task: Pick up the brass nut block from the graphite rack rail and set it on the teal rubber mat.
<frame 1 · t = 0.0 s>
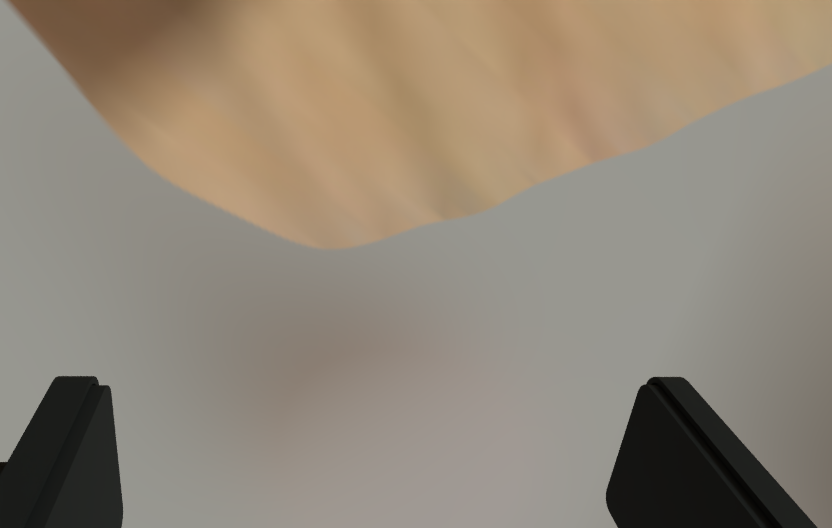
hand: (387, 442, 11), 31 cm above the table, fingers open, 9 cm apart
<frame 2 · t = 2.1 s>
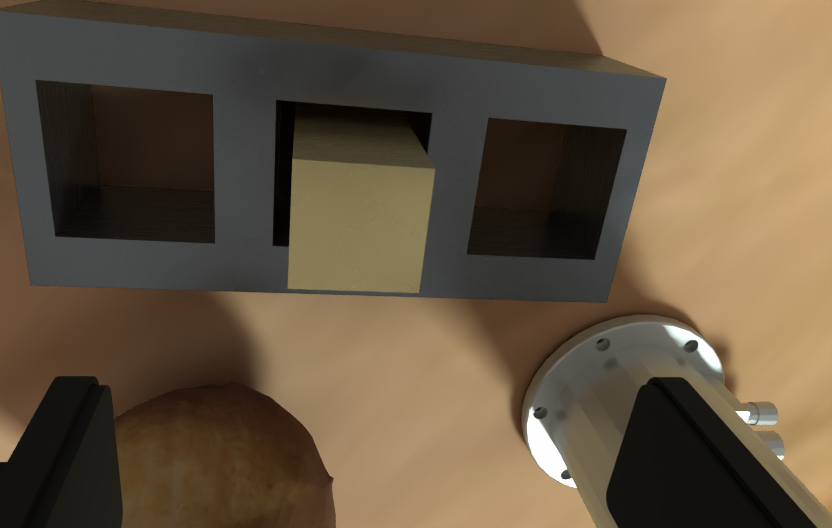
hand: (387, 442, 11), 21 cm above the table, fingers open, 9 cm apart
butternut squash: (216, 440, 37), on the table
brass nut block: (349, 177, 26), in the graphite rack rail
graphite rack rail: (342, 140, 31), on the table
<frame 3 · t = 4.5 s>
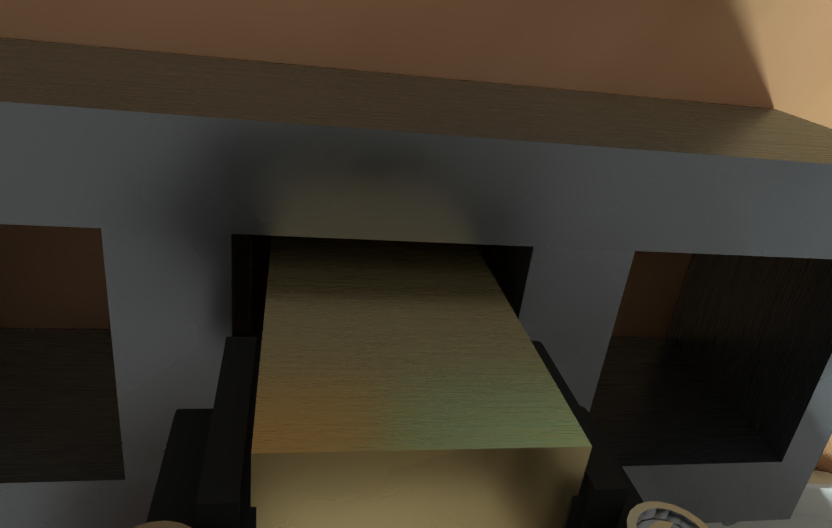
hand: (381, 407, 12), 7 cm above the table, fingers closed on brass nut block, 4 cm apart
brass nut block: (372, 352, 14), in the graphite rack rail, touching gripper
graphite rack rail: (354, 247, 19), on the table
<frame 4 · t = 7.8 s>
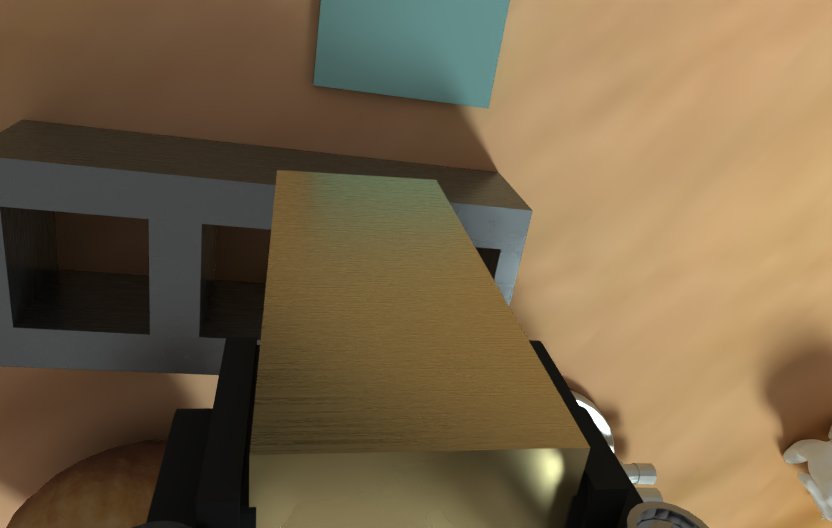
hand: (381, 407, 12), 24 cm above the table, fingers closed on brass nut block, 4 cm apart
butternut squash: (158, 484, 42), on the table
brass nut block: (371, 353, 14), point 22 cm above the table, touching gripper
white animal figurine: (823, 459, 51), on the table
teal rubber mat: (415, 1, 32), on the table
graphite rack rail: (271, 237, 36), on the table
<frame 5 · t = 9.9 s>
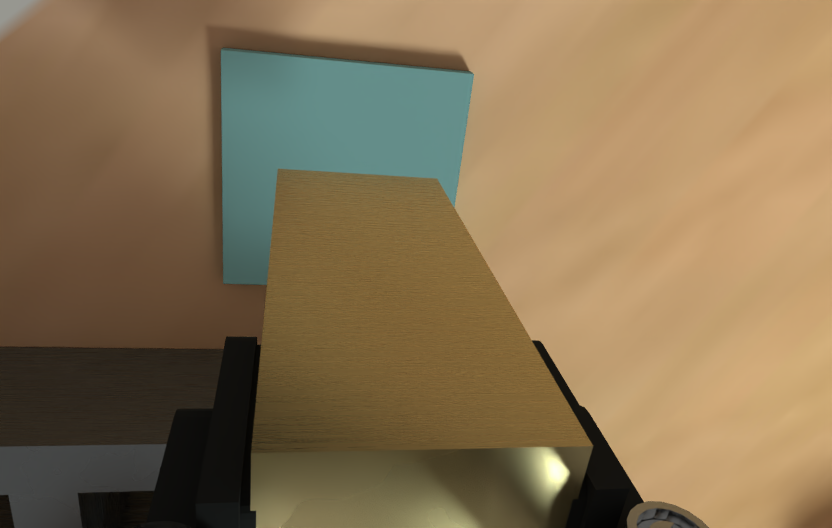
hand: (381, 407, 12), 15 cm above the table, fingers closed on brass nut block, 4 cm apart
brass nut block: (372, 352, 14), point 13 cm above the table, touching gripper
teal rubber mat: (342, 178, 26), on the table
graphite rack rail: (192, 441, 30), on the table
when the fingers open (9 cm above the table, at t = 11.6 s): brass nut block drops 2 cm, resting on teal rubber mat.
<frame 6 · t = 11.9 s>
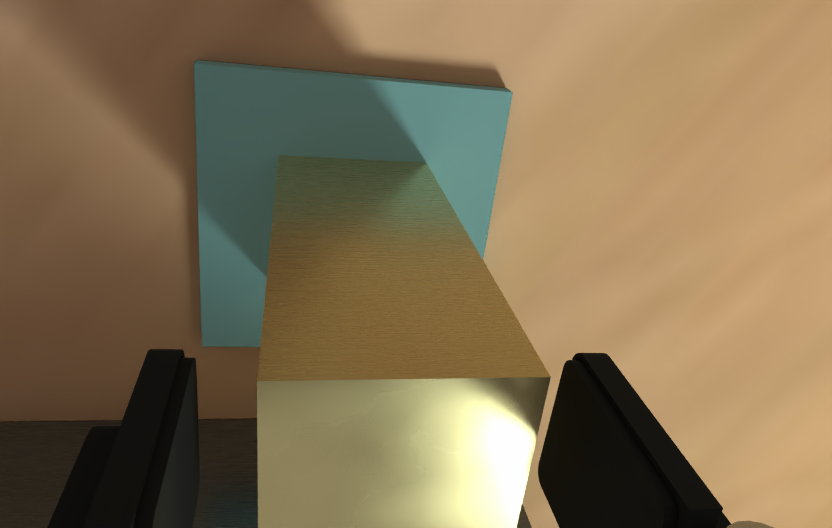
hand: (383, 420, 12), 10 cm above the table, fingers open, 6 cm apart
brass nut block: (366, 317, 15), on the teal rubber mat, point 6 cm above the table
teal rubber mat: (348, 218, 21), on the table
graphite rack rail: (168, 523, 25), on the table
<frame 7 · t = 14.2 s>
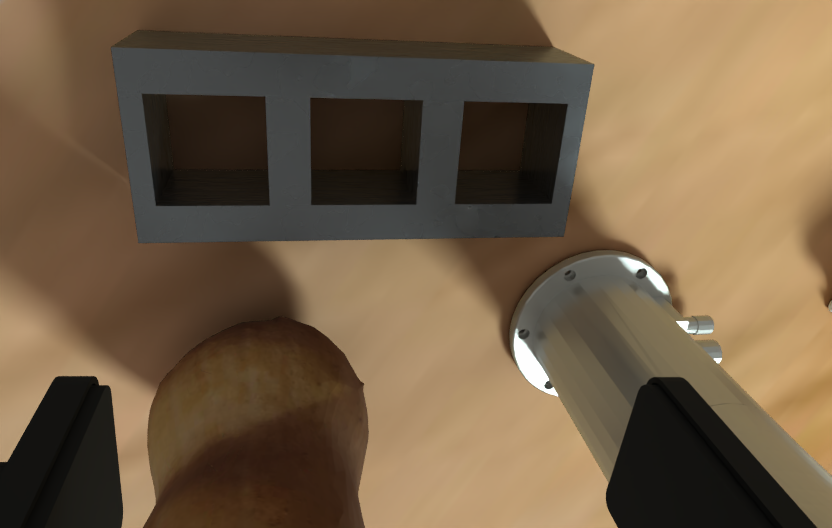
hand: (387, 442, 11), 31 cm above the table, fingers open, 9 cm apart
butternut squash: (267, 369, 47), on the table
graphite rack rail: (355, 124, 40), on the table
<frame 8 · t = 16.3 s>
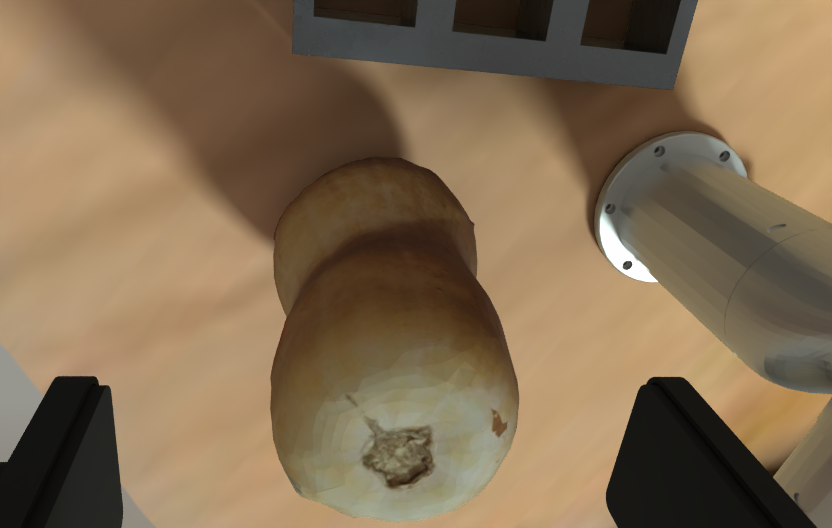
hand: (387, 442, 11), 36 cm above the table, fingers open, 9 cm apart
butternut squash: (367, 226, 49), on the table
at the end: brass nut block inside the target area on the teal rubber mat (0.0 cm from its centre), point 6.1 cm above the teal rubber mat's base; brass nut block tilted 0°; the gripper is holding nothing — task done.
